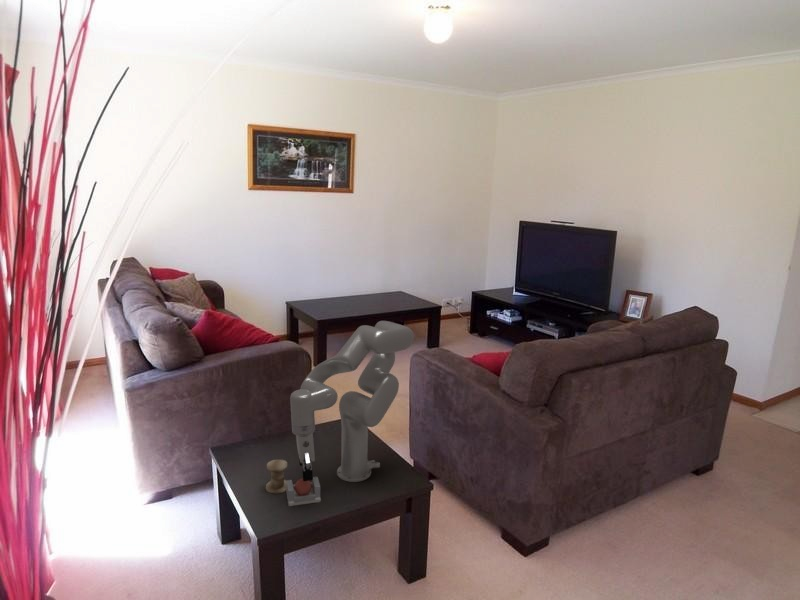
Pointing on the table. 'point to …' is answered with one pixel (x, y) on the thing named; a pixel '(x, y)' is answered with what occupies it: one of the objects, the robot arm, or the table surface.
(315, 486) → the grey u-shaped holder
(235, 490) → the table surface
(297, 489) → the bead
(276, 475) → the bobbin
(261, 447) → the table surface
